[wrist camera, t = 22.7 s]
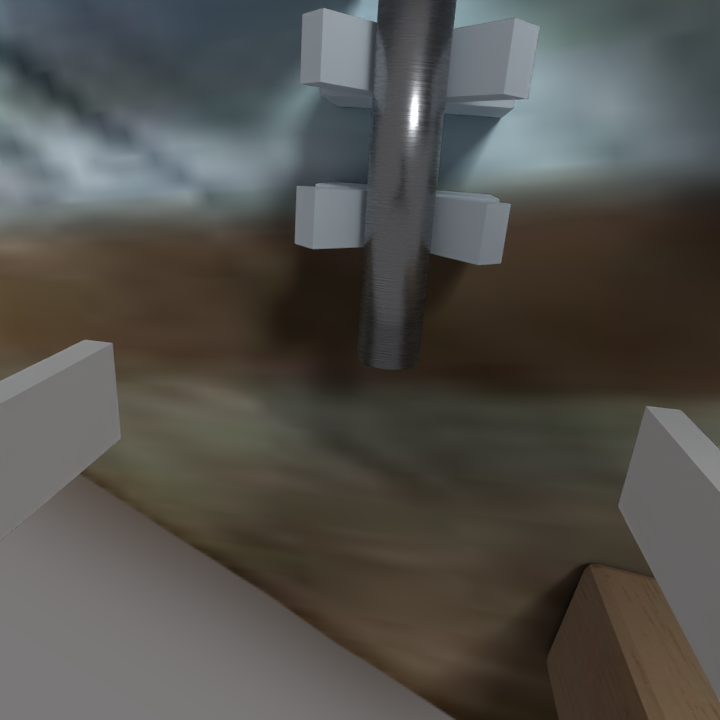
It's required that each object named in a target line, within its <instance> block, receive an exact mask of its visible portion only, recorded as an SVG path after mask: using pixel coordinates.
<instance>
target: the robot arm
mask: <svg viewBox="0 0 720 720" xmlns="http://www.w3.org/2000/svg"><path fill="white" fill-rule="evenodd" d="M120 439H121V432H120V421H119V410H118V399H117V388H116V376H115V365H114V354H113V343H108V342H99V341H91V340H83V341H81V342H79V343H77V344H75V345H73V346H71V347H69V348H67V349H65V350H63V351H61V352H59V353H57V354H55V355H53V356H50V357H48V358H46V359H44V360H42V361H40V362H38V363H36V364H34V365H32V366H30V367H28V368H26V369H24V370H22V371H20V372H18V373H16V374H14V375H12V376H10V377H8V378H5V379H3V380H1V381H0V541H1V540H2V539H4V538H5V537H6V536H7V535H8V534H9V533H10V532H12V531H13V530H14V529H15V528H17V526H19V525H20V524H21V523H22V522H24V521H25V520H26V519H27V518H28V517H29V516H31V515H32V514H33V513H34V512H35V511H36V510H38V509H39V508H40V507H41V506H42V505H43V504H45V503H46V502H47V501H48V500H49V499H51V498H52V497H53V496H54V495H55V494H56V493H58V492H59V491H60V490H61V489H62V488H63V487H64V486H66V485H67V484H68V483H69V482H70V481H72V480H73V479H74V478H75V477H76V476H77V475H79V474H80V473H81V472H82V471H83V470H85V469H86V468H87V467H88V466H89V465H90V464H92V463H93V462H94V461H95V460H96V459H97V458H99V457H100V456H101V455H102V454H103V453H104V452H106V451H107V450H108V449H109V448H110V447H111V446H113V445H114V444H115V443H116V442H117V441H119V440H120ZM618 507H619V509H620V511H621V513H622V515H623V517H624V519H625V521H626V523H627V525H628V527H629V529H630V530H631V532H632V534H633V536H634V538H635V540H636V542H637V544H638V546H639V548H640V550H641V552H642V554H643V555H644V557H645V559H646V561H647V563H648V565H649V567H650V569H651V571H652V573H653V575H654V577H655V578H656V580H657V582H658V584H659V586H660V588H661V590H662V592H663V594H664V596H665V598H666V600H667V601H668V603H669V605H670V607H671V609H672V611H673V613H674V615H675V617H676V619H677V621H678V623H679V625H680V626H681V628H682V630H683V632H684V634H685V636H686V638H687V640H688V642H689V644H690V646H691V648H692V649H693V651H694V653H695V655H696V657H697V659H698V661H699V663H700V665H701V667H702V669H703V671H704V673H705V674H706V676H707V678H708V680H709V682H710V684H711V686H712V688H713V690H714V692H715V694H716V696H717V697H718V699H719V701H720V450H719V448H718V447H717V446H716V445H715V444H714V443H713V442H712V441H711V440H710V439H709V438H708V437H707V436H706V435H705V434H704V433H703V432H702V431H701V430H700V429H699V428H698V427H697V426H696V425H695V424H694V423H693V422H692V421H691V420H690V419H689V418H688V417H687V416H686V415H685V414H684V413H683V412H682V411H681V410H677V409H668V408H660V407H651V406H646V407H645V411H644V414H643V418H642V422H641V425H640V429H639V432H638V436H637V440H636V443H635V447H634V450H633V454H632V458H631V461H630V465H629V469H628V472H627V476H626V479H625V483H624V487H623V490H622V494H621V497H620V501H619V505H618Z"/></svg>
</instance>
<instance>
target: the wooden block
mask: <svg viewBox="0 0 720 720" xmlns="http://www.w3.org/2000/svg"><path fill="white" fill-rule="evenodd" d="M547 669H548V673H549V678H550V682H551V687H552V691H553V696H554V701H555V705H556V710H557V714H558V719H559V720H720V701H719V699H718V697H717V696H716V694H715V692H714V690H713V688H712V686H711V684H710V682H709V680H708V678H707V676H706V674H705V673H704V671H703V669H702V667H701V665H700V663H699V661H698V659H697V657H696V655H695V653H694V651H693V649H692V648H691V646H690V644H689V642H688V640H687V638H686V636H685V634H684V632H683V630H682V628H681V626H680V625H679V623H678V621H677V619H676V617H675V615H674V613H673V611H672V609H671V607H670V605H669V603H668V601H667V600H666V598H665V596H664V594H663V592H662V590H661V588H660V586H659V584H658V582H657V580H656V578H654V577H650V576H646V575H642V574H638V573H634V572H630V571H626V570H622V569H618V568H614V567H609V566H605V565H601V564H590V565H588V566H587V567H586V568H585V569H584V572H583V574H582V576H581V579H580V581H579V583H578V586H577V588H576V590H575V593H574V595H573V597H572V600H571V602H570V605H569V607H568V609H567V612H566V614H565V616H564V619H563V621H562V623H561V626H560V628H559V630H558V633H557V635H556V637H555V640H554V642H553V645H552V647H551V649H550V652H549V654H548V657H547Z"/></svg>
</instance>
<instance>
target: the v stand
mask: <svg viewBox="0 0 720 720" xmlns="http://www.w3.org/2000/svg"><path fill="white" fill-rule="evenodd" d="M539 28H540V26H537V25H534V24H531V23H528V22H526V21H523V20H520V19H517V18H511V19H505V20H500V21H494V22H489V23H483V24H477V25H472V26H466V27H461V28H455V29H453V38H452V48H451V58H450V67H449V77H448V86H447V96H446V105H445V114H457V115H471V116H485V117H500V118H502V117H503V116H504V115H506V114H507V113H508V112H509V111H511V110H512V109H513V108H514V104H515V100H518V99H528V96H529V89H530V83H531V77H532V71H533V65H534V59H535V53H536V47H537V40H538V34H539ZM376 34H377V23H376V22H373V21H369V20H365V19H362V18H358V17H355V16H351V15H347V14H344V13H340V12H337V11H333V10H329V9H326V8H321V9H318V10H314V11H311V12H307V13H304V14H302V42H301V71H300V84H303V85H309V86H315V87H320V95H321V96H322V97H324V98H325V99H327V100H329V101H330V102H332V103H333V104H335V105H337V106H342V107H356V108H371V109H372V99H373V83H374V67H375V50H376ZM366 197H367V184H356V183H344V182H326V183H318V184H315V187H314V186H297V190H296V219H295V244H298V245H301V246H304V247H307V248H311V249H329V248H357V247H363V246H364V229H365V213H366ZM499 200H500V199H498V198H496V197H494V196H492V195H488V194H476V193H464V192H452V191H440V190H437V192H436V201H435V211H434V220H433V230H432V240H431V249H430V253H431V254H435V255H439V256H443V257H447V258H451V259H455V260H459V261H463V262H467V263H472V264H476V265H487V264H501V261H502V255H503V249H504V243H505V237H506V230H507V224H508V218H509V212H510V206H511V204H507V203H499Z"/></svg>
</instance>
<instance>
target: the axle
mask: <svg viewBox="0 0 720 720" xmlns="http://www.w3.org/2000/svg"><path fill="white" fill-rule="evenodd" d="M455 10H456V0H379V1H378V18H377V34H376V50H375V67H374V83H373V99H372V115H371V132H370V148H369V164H368V181H367V197H366V213H365V229H364V246H363V262H362V278H361V295H360V311H359V327H358V343H357V359H358V360H359V361H360V362H361V363H363V364H365V365H368V366H371V367H374V368H379V369H387V370H401V369H408V368H411V367H414V366H416V365H417V364H418V362H419V354H420V345H421V335H422V326H423V316H424V307H425V297H426V287H427V278H428V268H429V259H430V249H431V240H432V230H433V220H434V211H435V201H436V192H437V182H438V172H439V163H440V153H441V144H442V134H443V125H444V115H445V105H446V96H447V86H448V77H449V67H450V58H451V48H452V38H453V29H454V19H455Z"/></svg>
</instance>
